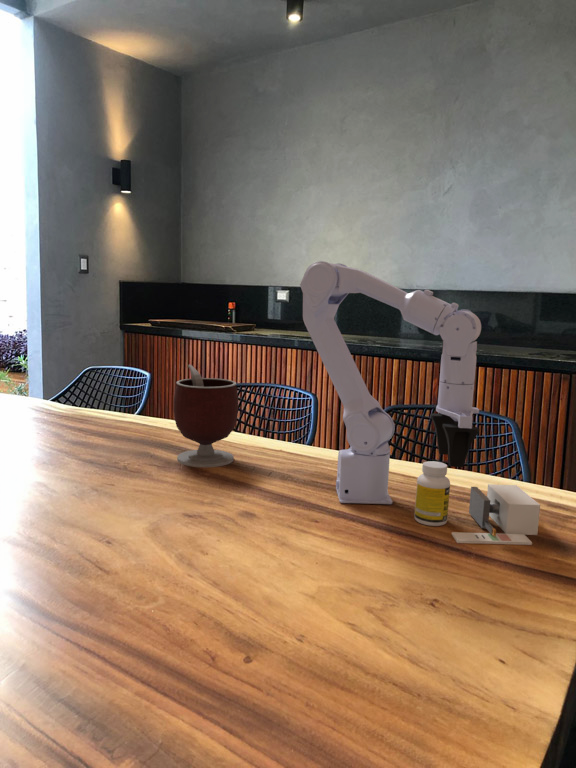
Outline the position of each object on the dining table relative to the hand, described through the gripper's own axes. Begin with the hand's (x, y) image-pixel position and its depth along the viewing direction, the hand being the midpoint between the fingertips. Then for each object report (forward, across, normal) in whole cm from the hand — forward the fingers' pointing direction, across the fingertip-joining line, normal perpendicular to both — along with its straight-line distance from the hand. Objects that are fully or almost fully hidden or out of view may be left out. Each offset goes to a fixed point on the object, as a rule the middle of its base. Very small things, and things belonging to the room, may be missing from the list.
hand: (450, 460), depth 106 cm
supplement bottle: (+10, -5, +4) cm, 11 cm away
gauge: (+9, -6, -5) cm, 12 cm away
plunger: (+9, -7, -8) cm, 14 cm away
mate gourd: (+10, +29, +46) cm, 55 cm away
